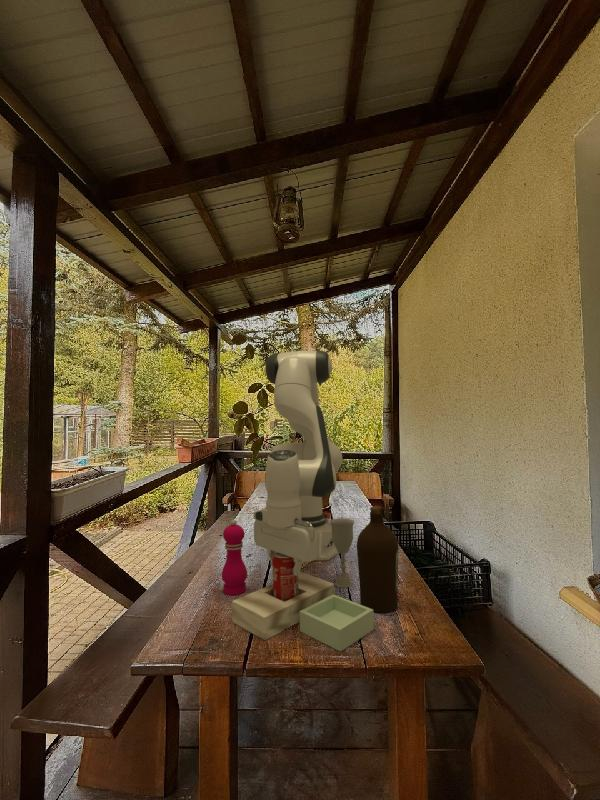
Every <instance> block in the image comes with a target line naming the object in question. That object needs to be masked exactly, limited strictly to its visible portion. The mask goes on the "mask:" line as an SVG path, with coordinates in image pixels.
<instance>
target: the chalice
mask: <svg viewBox="0 0 600 800" xmlns="http://www.w3.org/2000/svg"><path fill="white" fill-rule="evenodd" d="M329 523H330V526H331V527H332V540H333V542H334V545H335V547H336V549H337V551H338V553H339V554H340V555H341V558H340V560H339V561H340V563H341V565H340V567H339V568H340V569H341V573H340V574H338V576H337V577H336V580H335V582H334V584H335V586H336V587H339V588H345V589H346V588H350V587H351V586H353V582H352V580H351V577H350V576H349V574H347V573H346V568H347V566H346V561H347V560H346V558H345V556H346V554H348V553H349V550H350V548H351V547H352V544H353V541H354V524H355V520H354V519H351V518H346V517H345V518H332V519H330V520H329Z"/></svg>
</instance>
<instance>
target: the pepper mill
mask: <svg viewBox="0 0 600 800" xmlns="http://www.w3.org/2000/svg"><path fill="white" fill-rule="evenodd" d="M229 523H230V524H229V525H227V526H226V527H225V528H224V530H223V533H222V538H223V540H224V541H225V543H224V545H225V546H224V548H225V550H226V559H225V563H224V565H223V568H222V570H221V571H222V572H221V579H222V582H223V583H224V584H223V593H224V594H225V595H226V596H227V595H228V596H238V595H241V594H243V593H245V592H246V590H247V582H246V580H247V578H248V570H247V567H246V564H245V562H244V559H243V557H242V549H243V547H244V545H243V543H244V541H243V539H244V538H245V530H244V528H243V526H241V525H240V524H238V522H237V520H236V519H231V520H230V522H229Z"/></svg>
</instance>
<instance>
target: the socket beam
mask: <svg viewBox="0 0 600 800" xmlns="http://www.w3.org/2000/svg"><path fill="white" fill-rule="evenodd" d="M335 586H336V585H335V583H333V582H330V581H328V580H325V579H322V578H319V577H316V576H314V575H311V574H308V573H305V572H301V571H300V575H298V592H299V595H298V596H296V597H294V598H292V599H290V600H288V601H286V602H284V601H281V600H279V599H277V598H275V597H274V594H273V583H272V584H269V585H267V586H265V587H263V588H259V589H258V590H255V591H253V592H251V593H247V594H246V595H243V596H241V597H237V598H236V599H234V600H232V601H231V609H232V610H231V613H232V614H231V616H232V618H231V619H232V620H231V621H232V623H233V624H235V625H237V626H239V627H241V628H242V629H244V630H246V631H248V632H249V633H251V634H253V635H254V636H256V637H258V638H260V639H261V640H263V641H267V640H268V639H271V638H273V637H274V636H276V635H278V634H280V633H282V632H284V631H285V629H286V630H287V629H289V628H291V627H293V626H295V625H296V624H298V623H299V624H300V611H301V610H303V609H305V608H307V607H309V606H311V605H313V604H315V603H317V602H319V601H321V600H323V599H325V598H327V597H329V596H331V595H333V594H334V595H336V591H335V590H336V588H335ZM294 624H295V625H294ZM292 625H293V626H292ZM290 626H291V627H290Z"/></svg>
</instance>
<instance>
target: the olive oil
mask: <svg viewBox="0 0 600 800" xmlns="http://www.w3.org/2000/svg"><path fill="white" fill-rule="evenodd" d="M369 510H370V511H369V519H370V521H369V523H368V524H367V525H366V526H365V527H364V528H363V529H362V530H361V531H360V532H359V534H358V536H357V540H356V555H357V567H358V581H359V595H360V597H359V598H360V599H359V600H360V605H363V606H365V607H368V608H370V609H373V613H376V612H378V613H377V614H387V613H391V612H394V611H395V610H396V609H397V608H398V605H399V602H398V595H399V594H398V593H399V592H398V591H399V590H398V588H399V583H398V581H399V578H398V577H399V543H398V538H397V536H396V535H395V533H394V532H393V531H392V529H390V527H388V525H386V523H385V522H384V512H383V510H384V509H383V506H380V505H379V506H378V505H373V506H370V508H369ZM393 610H394V611H393ZM386 612H387V613H386Z"/></svg>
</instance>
